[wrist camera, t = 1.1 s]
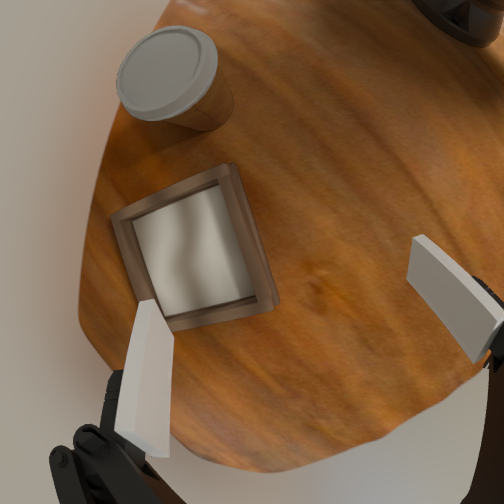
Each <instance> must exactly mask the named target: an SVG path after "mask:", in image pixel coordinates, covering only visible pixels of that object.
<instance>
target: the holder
mask: <svg viewBox="0 0 504 504" xmlns="http://www.w3.org/2000/svg"><path fill="white" fill-rule="evenodd" d="M110 217H111V221H112V225H113V228H114V232H115V235H116V238H117V242H118V245H119V248H120V252H121V255H122V258H123V261H124V264H125V267H126V270H127V273H128V276H129V279H130V282H131V284H132V287H133V290H134V293H135V295H136V298H137V301H138V303H139V302H140V301H145V300H150V299H154V300H155V302H156V304H157V306H158V308H159V310H160V312H161V314H162V316H163V318H164V320H165V321H166V323H167V325H168V327H169V329H170V331H171V332H175V331H181V330H186V329H191V328H196V327H201V326H206V325H211V324H216V323H220V322H225V321H230V320H234V319H239V318H243V317H247V316H252V315H256V314H260V313H264V312H269V311H273V309H274V306H275V305H278V304H280V299H279V295H278V292H277V289H276V286H275V283H274V280H273V276H272V273H271V270H270V267H269V264H268V261H267V258H266V255H265V251H264V248H263V245H262V242H261V239H260V236H259V233H258V230H257V227H256V224H255V221H254V217H253V214H252V211H251V208H250V205H249V202H248V199H247V196H246V193H245V190H244V187H243V184H242V181H241V178H240V175H239V172H238V169H237V166H236V164H235V163H232V164H229V165H228V164H226V163H223V164H221V165H218V166H216V167H213V168H211V169H208V170H206V171H203V172H201V173H199V174H196V175H194V176H192V177H189V178H187V179H185V180H182V181H180V182H178V183H175V184H173V185H171V186H169V187H167V188H164V189H162V190H160V191H158V192H156V193H154V194H151V195H149V196H147V197H145V198H143V199H141V200H139V201H137V202H135V203H133V204H131V205H129V206H127V207H125V208H123V209H121V210H119V211H117V212H115V213H113V214H111V215H110Z"/></svg>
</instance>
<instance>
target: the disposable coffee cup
mask: <svg viewBox="0 0 504 504" xmlns="http://www.w3.org/2000/svg"><path fill="white" fill-rule="evenodd" d="M116 87H117V94H118V96H119V98H120V100H121V102H122V103H123V105H124V107H125V109H126V110H127V111H128V112H129V113H130V114H131V115H132V116H134V117H136V118H138V119H141V120H146V121H160V120H162V121H166V122H170V123H174V124H177V125H181V126H185V127H188V128H191V129H195V130H198V131H211V130H214V129H216V128H218V127H220V126H221V125H222V124H224V123H225V122H226V121H227V120H228V118H229V117H230V115H231V113H232V110H233V97H232V95H231V92H230V90H229V88H228V85H227V83H226V80H225V78H224V76H223V73H222V71H221V68H220V66H219V64H218V54H217V49H216V47H215V44H214V43H213V41H212V40H211V38H210V37H208V36H207V35H206V34H205V33H203V32H201V31H199V30H195V29H192V28H190V27H186V26H168V27H164V28H161V29H158V30H156V31H154V32H152V33H150V34H148V35H147V36H145V37H144V38H143V39H141V40H140V41H139V42H137V43H136V45H134V47H133V48H132V49H131V50H130V51H129V52H128V53H127V55H126V57H125V58H124V60H123V62H122V63H121V65H120V68H119V71H118V74H117V80H116Z"/></svg>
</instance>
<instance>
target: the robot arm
mask: <svg viewBox="0 0 504 504" xmlns="http://www.w3.org/2000/svg"><path fill="white" fill-rule="evenodd" d="M413 1H414V3H415V4H416V6H417V7H418V8H419V9H420V10H421V12H422V13H423V14H424V15H425V16H426V17H427V18H428V19H430V20H431V21H432V22H433V23H434V24H435V25H437V26H438V27H439V28H441V29H442V30H443V31H445V32H446V33H448V34H449V35H451V36H453V37H454V38H456V39H458V40H460V41H462V42H464V43H466V44H469V45H472V46H476V47H486V46H489V45H490V44H491V43H492V42H493V41H495V40H496V39H497V37H498V35H499V31H500V28H501V25H502V21H503V17H504V0H413ZM406 279H407V281H408V282H409V283H410V284H411V285H412V286H413V287H414V289H415V290H416V291H417V292H418V293H419V294H420V296H421V297H422V298H423V299H424V300H425V302H426V303H427V304H428V305H429V306H430V308H431V309H432V310H433V311H434V313H435V314H436V315H437V316H438V318H439V319H440V320H441V321H442V323H443V324H444V325H445V326H446V328H447V329H448V330H449V332H450V333H451V334H452V335H453V337H454V338H455V339H456V341H457V342H458V343H459V345H460V346H461V348H462V349H463V350H464V352H465V353H466V354H467V356H468V357H469V359H470V360H471V361H472V363H473V364H474V363H475V362H477V361H478V360H480V359H481V358H483V357H484V356H485V354H486V352H487V351H488V349H490V350H491V354H490V355H489V357H488V359H487V360H486V362H485V363H484V366H483V368H485V367H486V366H487V364H488V363H489V366H488V369H489V387H488V400H487V409H486V417H485V424H484V431H483V437H482V442H481V447H480V452H479V457H478V461H477V466H476V469H475V473H474V477H473V480H472V484H471V487H470V490H469V492H468V494H467V496H466V497H465V498H464V499H463V500H462V502H461V503H460V504H504V302H503V301H502V300H501V299H500V298H499V297H498V296H497V295H496V294H494V292H493V291H492V290H491V289H490V288H488V286H487V285H486V284H485V283H484V282H483V281H482V280H480V279H478V278H477V277H475V276H470V275H469V274H468V273H467V272H466V271H465V270H464V269H463V268H461V267H460V266H459V265H458V264H457V263H456V262H455V261H454V260H453V259H452V258H450V257H449V256H448V255H447V254H446V253H445V252H444V251H443V250H441V249H440V248H439V247H438V246H437V245H436V244H434V243H433V242H432V241H431V240H430V239H428V238H427V237H426V236H425V235H424V234H423V235H419V236H416V237H413V239H412V247H411V254H410V261H409V267H408V273H407V278H406ZM173 347H174V336H173V335H172V333H171V331H170V329H169V327H168V325H167V323H166V321H165V320H164V318H163V316H162V314H161V312H160V310H159V308H158V306H157V304H156V302H155V300H154V299H150V300H145V301H140V302H139V306H138V310H137V314H136V318H135V322H134V326H133V330H132V334H131V339H130V343H129V348H128V352H127V357H126V362H125V367H124V370H114V372H113V374H112V375H111V377H110V379H109V380H108V385H107V389H106V392H107V393H106V394H105V402H104V405H103V410H102V416H101V422H100V428H98V427H97V426H95V425H92V424H85V425H83V426H81V427H80V428H79V429H78V430H77V431H76V432H75V435H74V437H73V445H74V448H75V449H74V450H70V449H69V448H67V447H65V446H62V445H60V446H57V447H55V448H54V449H53V450H52V451H51V453H50V456H49V463H50V469H51V473H52V477H53V481H54V485H55V489H56V493H57V496H58V499H59V502H60V504H186V503H185V502H184V501H183V500H182V499H181V498H180V497H179V496H178V495H177V494H176V493H175V492H174V491H173V490H172V489H171V488H170V487H169V486H168V484H167V483H166V482H165V481H164V480H163V479H162V478H161V477H160V476H159V475H158V473H157V472H156V471H155V470H154V469H153V468H152V467H151V465H150V464H149V463H148V462H147V461H146V460H145V453H146V454H148V455H150V456H151V457H169V439H170V398H171V377H172V361H173Z"/></svg>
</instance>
